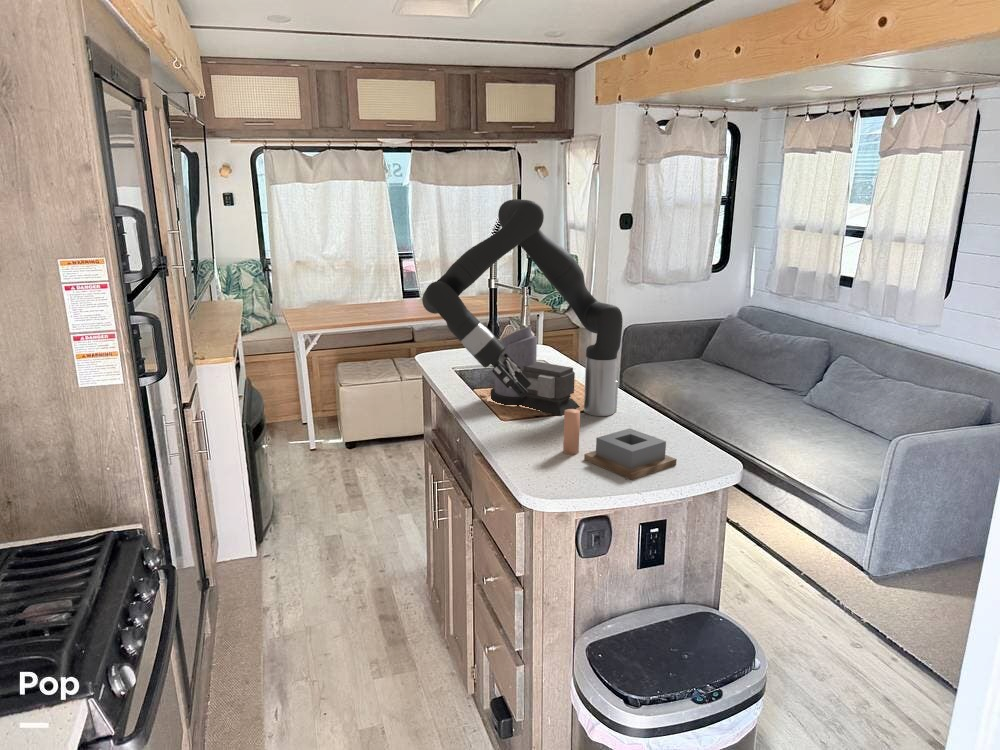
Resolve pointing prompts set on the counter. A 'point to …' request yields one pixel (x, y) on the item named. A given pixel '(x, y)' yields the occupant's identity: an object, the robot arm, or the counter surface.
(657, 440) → the socket
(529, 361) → the juicer
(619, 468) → the socket board
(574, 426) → the peg
